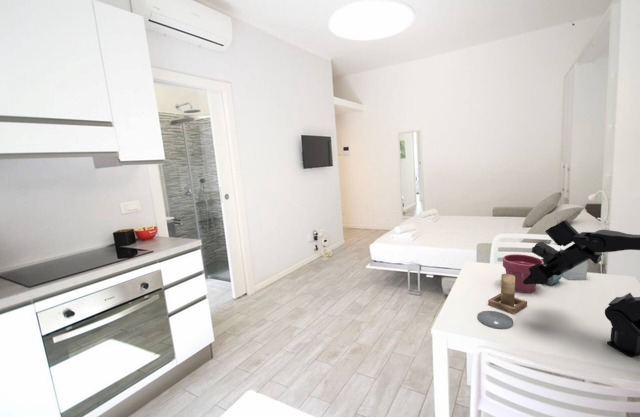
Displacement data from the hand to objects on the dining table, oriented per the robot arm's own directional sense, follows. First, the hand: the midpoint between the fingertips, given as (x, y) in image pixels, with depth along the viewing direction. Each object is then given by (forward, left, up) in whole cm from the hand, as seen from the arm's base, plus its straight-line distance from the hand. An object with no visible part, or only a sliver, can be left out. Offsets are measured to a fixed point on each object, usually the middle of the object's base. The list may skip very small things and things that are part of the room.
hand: (530, 279), depth 106 cm
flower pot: (+21, -27, -13) cm, 36 cm away
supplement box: (+23, -41, -13) cm, 49 cm away
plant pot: (+19, -13, -13) cm, 26 cm away
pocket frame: (+7, +3, -13) cm, 15 cm away
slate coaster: (-1, +14, -13) cm, 19 cm away
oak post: (+7, +3, -13) cm, 15 cm away
